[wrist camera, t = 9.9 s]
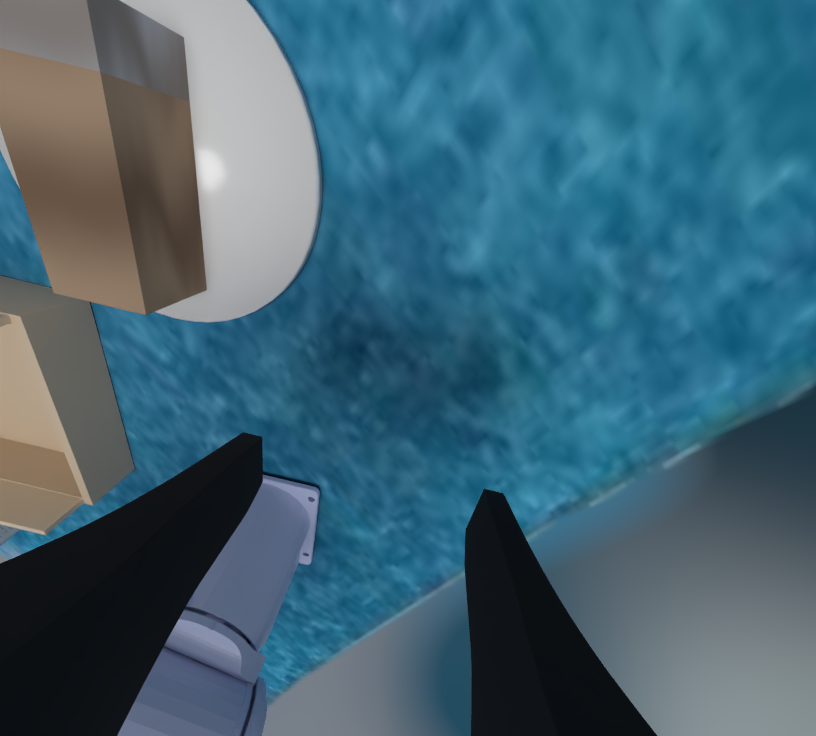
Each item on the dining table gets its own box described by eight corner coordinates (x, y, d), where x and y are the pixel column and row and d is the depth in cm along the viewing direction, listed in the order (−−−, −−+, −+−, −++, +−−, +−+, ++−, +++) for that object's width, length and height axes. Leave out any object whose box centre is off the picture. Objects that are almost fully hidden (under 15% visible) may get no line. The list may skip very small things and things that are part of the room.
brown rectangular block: (206, 290, 18) (145, 315, 14) (133, 272, 18) (53, 292, 14) (183, 37, 13) (82, -22, 9) (82, 13, 13) (-59, -55, 9)
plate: (311, 343, 19) (306, 349, 19) (59, 283, 19) (44, 287, 19) (338, -26, 12) (331, -39, 11) (-66, -122, 12) (-98, -141, 11)
